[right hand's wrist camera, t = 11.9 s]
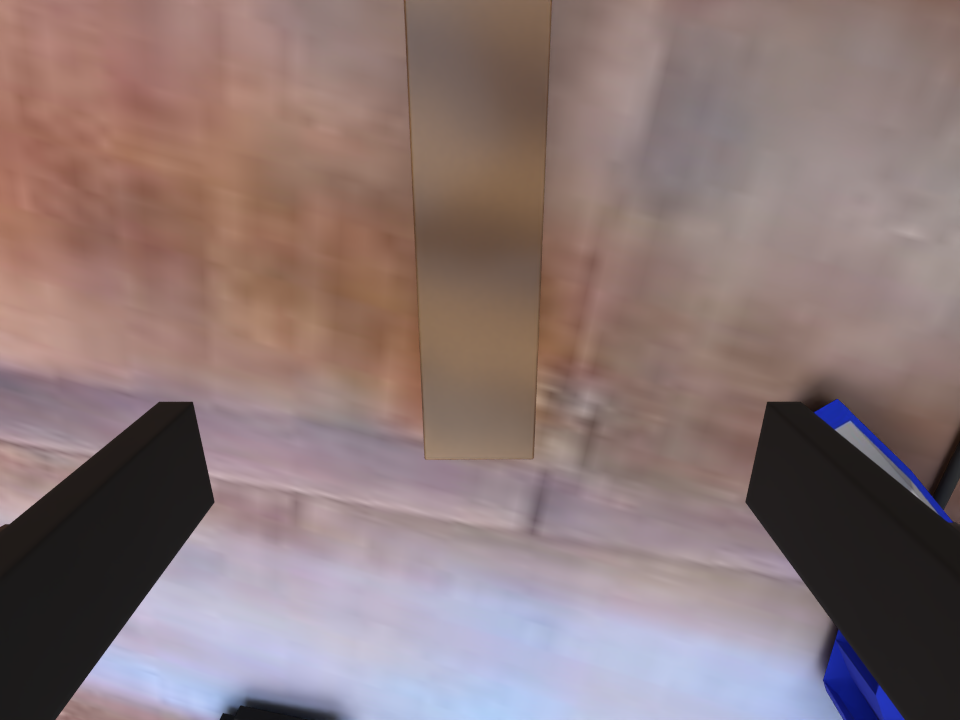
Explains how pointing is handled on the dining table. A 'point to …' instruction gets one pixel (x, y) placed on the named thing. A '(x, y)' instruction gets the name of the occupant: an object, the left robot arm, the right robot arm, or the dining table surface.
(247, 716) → the decorative sign
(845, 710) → the toy spaceship
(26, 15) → the dining table surface
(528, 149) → the beam
